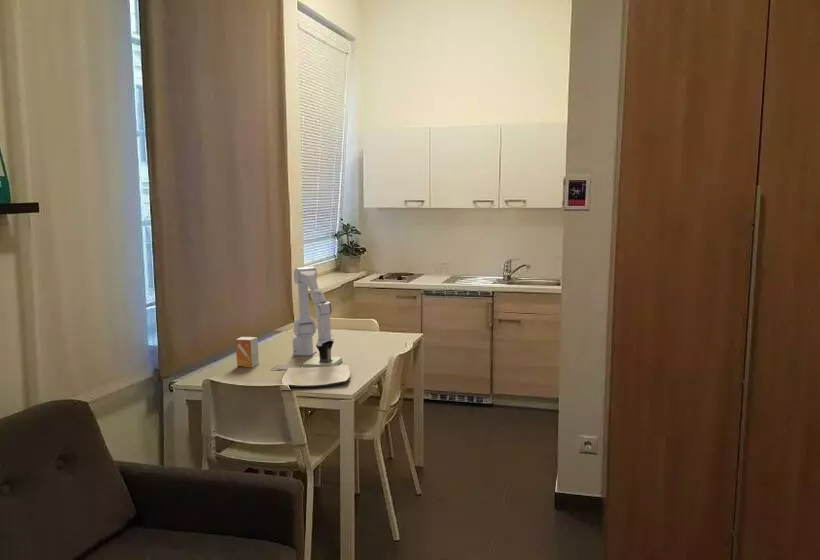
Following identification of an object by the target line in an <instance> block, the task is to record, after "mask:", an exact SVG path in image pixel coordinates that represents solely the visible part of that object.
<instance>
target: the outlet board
mask: <svg viewBox="0 0 820 560" xmlns="http://www.w3.org/2000/svg"><path fill="white" fill-rule="evenodd" d="M342 362H343V356H331V361H330V362H329V363H320V356H319V355H318V356H317V355H315V356H311V358H310V359H308V360H306V361H305V362H304V363H302V366H303V368H310V367H328V366H339V365H340V364H341V363H342Z"/></svg>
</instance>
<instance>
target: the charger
mask: <svg viewBox="0 0 820 560" xmlns="http://www.w3.org/2000/svg"><path fill="white" fill-rule="evenodd" d="M318 354H319V355H318V357H320V363H329V362H330V361H331V357H332V348H328V350H327V358H326V360H324V359H321V356H320V352H318Z"/></svg>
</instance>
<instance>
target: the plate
mask: <svg viewBox="0 0 820 560" xmlns="http://www.w3.org/2000/svg"><path fill="white" fill-rule="evenodd" d="M298 375H299V376H300V375H303V376H301V377H302V378H301V380H303V378H304V377H305V379H304V380H305V381H306V382H307V383H308V385H297V384H294V383H292V382H291V379H292V378H294V377H295V376H298ZM350 377H351V371H350V367H349V365H348V364H338V365H337V366H328V367H310V368H288V370H287V371H285V373H284V374H283V376H282V379H281V384H282V383H284V384H288V385H289V386H291V387H290V388H320V387H321V388H322V387H329V386H335V385H341V384H346V382H348V381H349V380H350Z"/></svg>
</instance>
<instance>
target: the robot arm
mask: <svg viewBox="0 0 820 560" xmlns="http://www.w3.org/2000/svg"><path fill="white" fill-rule="evenodd" d="M317 278H318V271H317V268H316V266H307V267H296V268H295V269H294V271H293V280H294V284H296V285H297V289H298V290H297V291H298V292H297V294H298V295H297V296H298V310H299V312H298V313H299V316H298V317H297V318H296V319H294V321H293V333H294V335H295V336H293V338H292V350H293V351H292V353H293V354H292V356H309V357H310V356H311V357H312V356H313V355H314V354H316V353H317V350H318V351H319V352H320V356H321V359H324V360H326V358H327V350H328V348H331V349H333V348H332V347H333V345H334V343H335V342H334V338H333V335H332V334H331V332H332V331H331V315H332V312H333V309H332V305H331V302H330V301H328V300H327V299H326V296H325V295H324V292H323V291H322V290H320V288H319V285H318V282H317ZM309 291H310V292H311V295H310V297H309ZM310 298H311V300H312V302H313V305H314V312H315V317H316V318H315V319H316V322H317V327H316V322H315V319H314V318H313V317H311V316H310V300H309V299H310ZM316 331H317V337H318V338H317V341H316V344H315V347H316V349H317V350H314V340H313V339H314V335H315V334H316ZM319 352H318V353H319ZM320 356H319V357H320Z"/></svg>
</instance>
